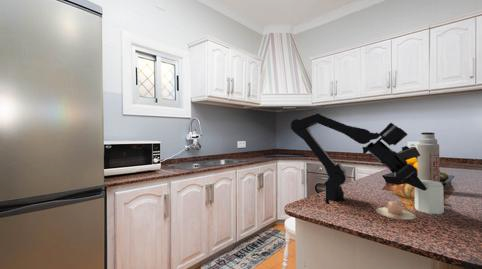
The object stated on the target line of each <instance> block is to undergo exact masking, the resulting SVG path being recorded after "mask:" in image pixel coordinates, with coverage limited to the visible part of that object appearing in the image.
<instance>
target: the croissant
mask: <svg viewBox="0 0 482 269" xmlns="http://www.w3.org/2000/svg"><path fill="white" fill-rule="evenodd" d="M389 191H391V192H393V194H395V196H398V197H401V198H403V199H408V200H409V199H410V200H411V199H412V200H415V187H414V186H411V185H409V184H406V183H401V184H399V185H398V184H397V185H396V184H395V185H389Z"/></svg>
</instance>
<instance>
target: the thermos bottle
mask: <svg viewBox="0 0 482 269" xmlns="http://www.w3.org/2000/svg"><path fill="white" fill-rule="evenodd" d="M416 148H417V150H418V152H419V153H420V155H421V156H419V157H417V177H418V178H419V179H420V180H431V181H437V182H441V181H440V176H441V175H440V173H441V172H440V144H438V139H436V137H435V132H426V131H425V132H421V138H420V139H418V143H417V146H416Z"/></svg>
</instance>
